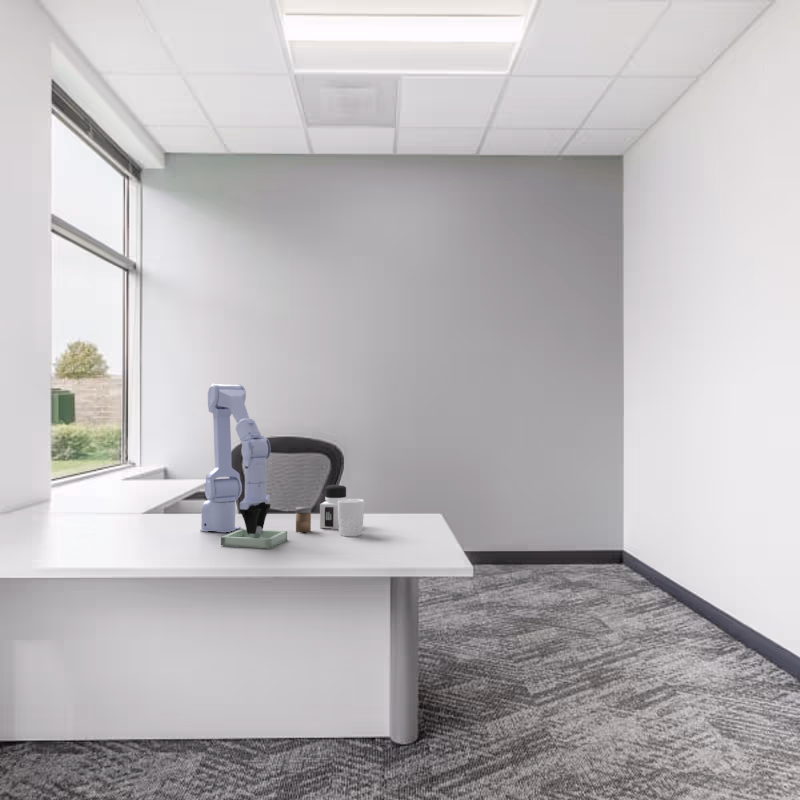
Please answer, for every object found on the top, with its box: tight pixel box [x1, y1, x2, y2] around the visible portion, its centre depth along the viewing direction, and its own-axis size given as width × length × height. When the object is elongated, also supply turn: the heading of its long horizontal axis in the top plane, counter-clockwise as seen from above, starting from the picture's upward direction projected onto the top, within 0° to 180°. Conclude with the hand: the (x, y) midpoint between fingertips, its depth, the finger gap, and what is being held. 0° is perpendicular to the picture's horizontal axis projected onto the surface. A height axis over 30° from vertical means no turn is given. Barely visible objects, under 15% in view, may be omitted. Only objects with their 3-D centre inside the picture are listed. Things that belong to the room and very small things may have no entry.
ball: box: [248, 525, 264, 538], centre depth 175 cm, size 4×4×4 cm
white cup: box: [338, 498, 365, 537], centre depth 188 cm, size 8×8×10 cm
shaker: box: [295, 506, 312, 534], centre depth 192 cm, size 5×5×7 cm
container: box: [319, 484, 347, 530], centre depth 199 cm, size 8×8×13 cm
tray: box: [220, 528, 288, 550], centre depth 175 cm, size 14×12×2 cm
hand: (254, 531), depth 175 cm, fingers closed on ball, 4 cm apart
